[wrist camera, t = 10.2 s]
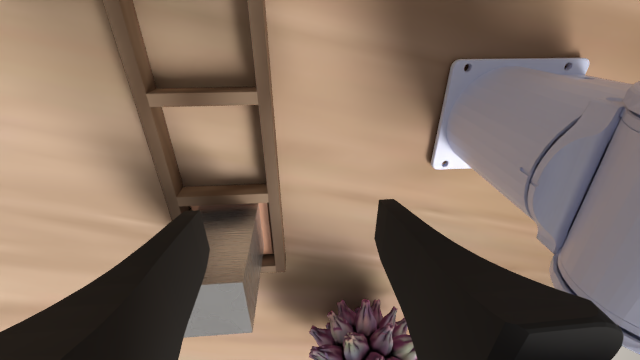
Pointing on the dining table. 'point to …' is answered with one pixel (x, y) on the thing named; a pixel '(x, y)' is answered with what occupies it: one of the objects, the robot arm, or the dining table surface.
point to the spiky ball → (362, 335)
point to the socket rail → (154, 99)
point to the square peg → (229, 271)
